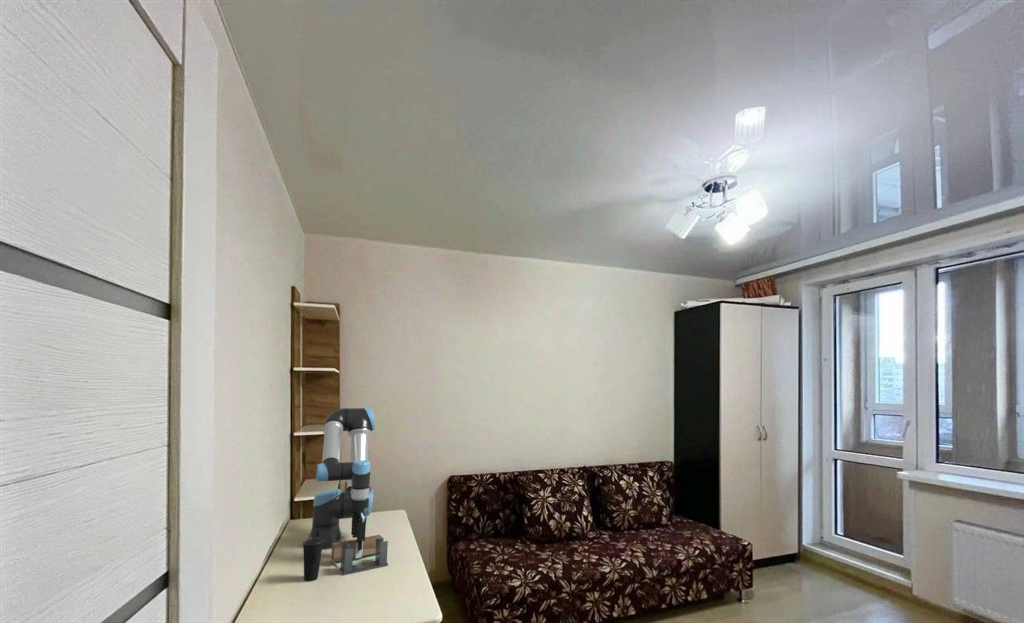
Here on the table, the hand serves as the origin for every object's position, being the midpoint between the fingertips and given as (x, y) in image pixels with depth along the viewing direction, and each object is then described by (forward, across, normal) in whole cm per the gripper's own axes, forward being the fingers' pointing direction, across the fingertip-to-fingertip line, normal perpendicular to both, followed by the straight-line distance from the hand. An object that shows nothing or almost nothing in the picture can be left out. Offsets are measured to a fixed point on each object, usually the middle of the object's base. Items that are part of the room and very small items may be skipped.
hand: (357, 555), depth 201 cm
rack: (+2, +10, 0) cm, 10 cm away
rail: (0, 0, 0) cm, 0 cm away
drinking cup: (+2, +10, -20) cm, 22 cm away
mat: (+2, 0, 0) cm, 2 cm away
